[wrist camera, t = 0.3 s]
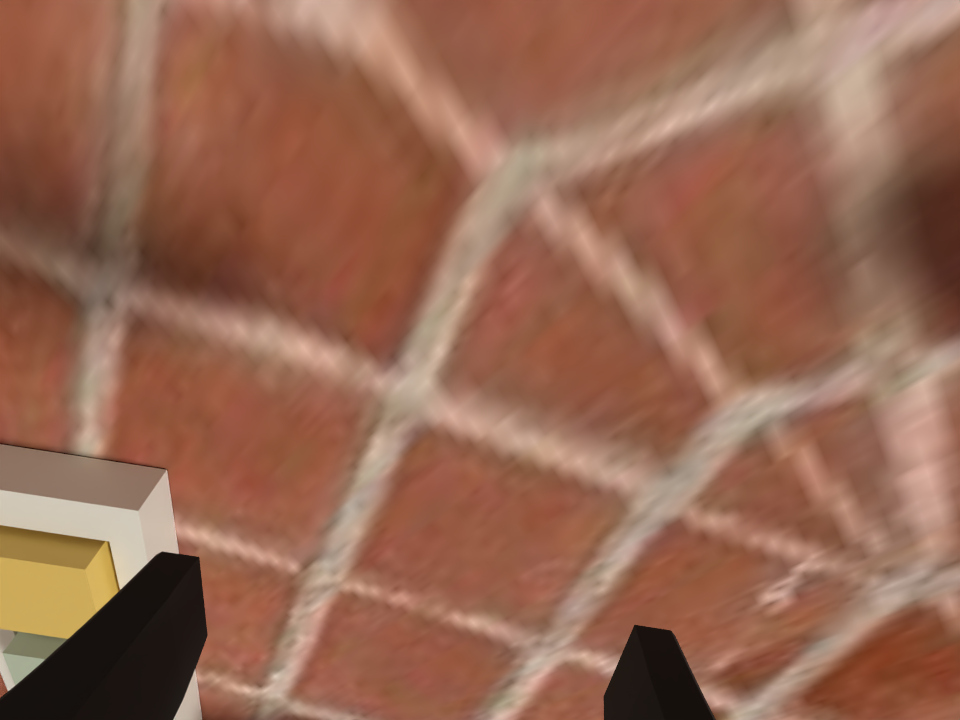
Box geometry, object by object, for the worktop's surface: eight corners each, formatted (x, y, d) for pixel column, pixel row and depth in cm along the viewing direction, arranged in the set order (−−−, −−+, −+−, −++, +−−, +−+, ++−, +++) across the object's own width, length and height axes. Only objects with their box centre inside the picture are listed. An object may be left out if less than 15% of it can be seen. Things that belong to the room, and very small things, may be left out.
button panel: (207, 754, 33) (190, 796, 32) (67, 733, 33) (42, 775, 32) (166, 469, 23) (138, 511, 22) (-34, 438, 23) (-79, 477, 22)
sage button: (147, 685, 28) (125, 727, 27) (53, 671, 28) (26, 712, 27) (135, 626, 26) (110, 669, 25) (33, 611, 26) (2, 653, 25)
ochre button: (129, 602, 26) (104, 644, 24) (25, 586, 25) (-8, 627, 24) (114, 528, 23) (85, 569, 22) (-1, 511, 23) (-38, 551, 22)
